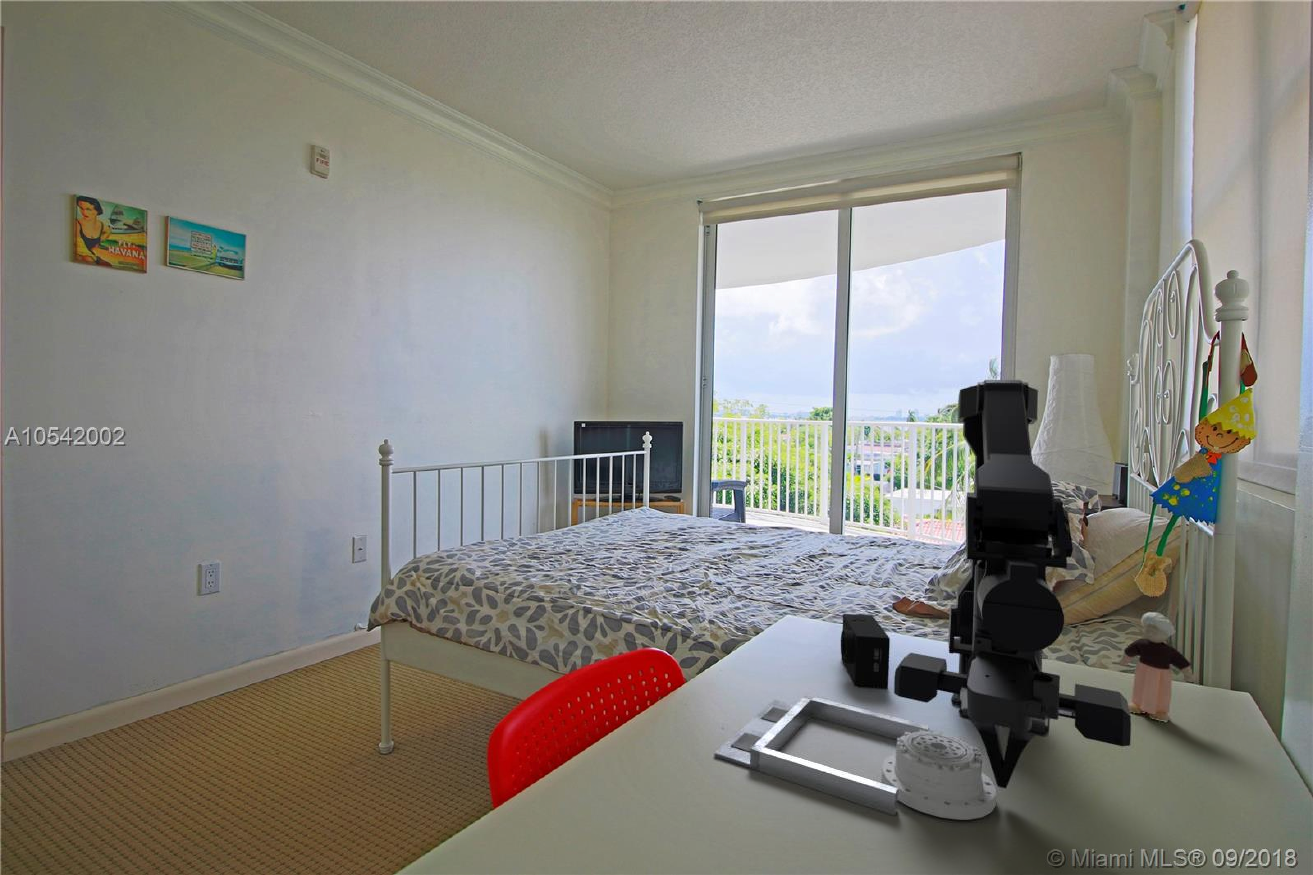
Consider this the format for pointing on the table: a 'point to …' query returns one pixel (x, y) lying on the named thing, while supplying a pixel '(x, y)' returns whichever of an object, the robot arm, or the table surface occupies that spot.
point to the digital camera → (865, 651)
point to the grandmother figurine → (1154, 667)
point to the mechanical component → (939, 776)
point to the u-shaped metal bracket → (776, 727)
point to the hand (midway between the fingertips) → (1002, 786)
